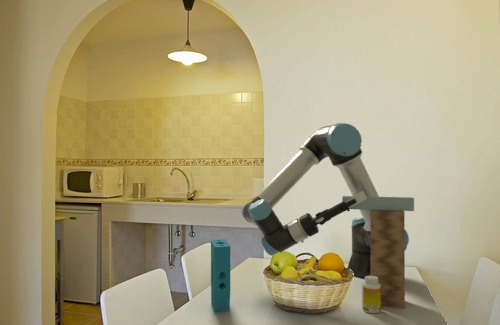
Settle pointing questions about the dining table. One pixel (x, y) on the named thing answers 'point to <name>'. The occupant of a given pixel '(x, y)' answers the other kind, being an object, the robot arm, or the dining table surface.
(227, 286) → the block
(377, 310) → the supplement bottle
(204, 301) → the dining table surface
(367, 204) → the bar
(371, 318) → the dining table surface
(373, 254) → the walnut stand
